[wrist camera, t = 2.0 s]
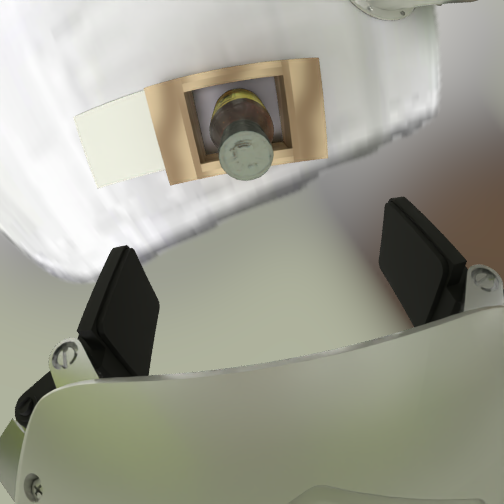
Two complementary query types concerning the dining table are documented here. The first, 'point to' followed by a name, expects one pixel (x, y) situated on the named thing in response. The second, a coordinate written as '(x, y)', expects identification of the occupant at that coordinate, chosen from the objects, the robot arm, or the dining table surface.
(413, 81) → the dining table surface
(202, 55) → the dining table surface
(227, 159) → the sauce bottle
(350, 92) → the dining table surface
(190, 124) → the carton
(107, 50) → the dining table surface
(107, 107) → the mat
